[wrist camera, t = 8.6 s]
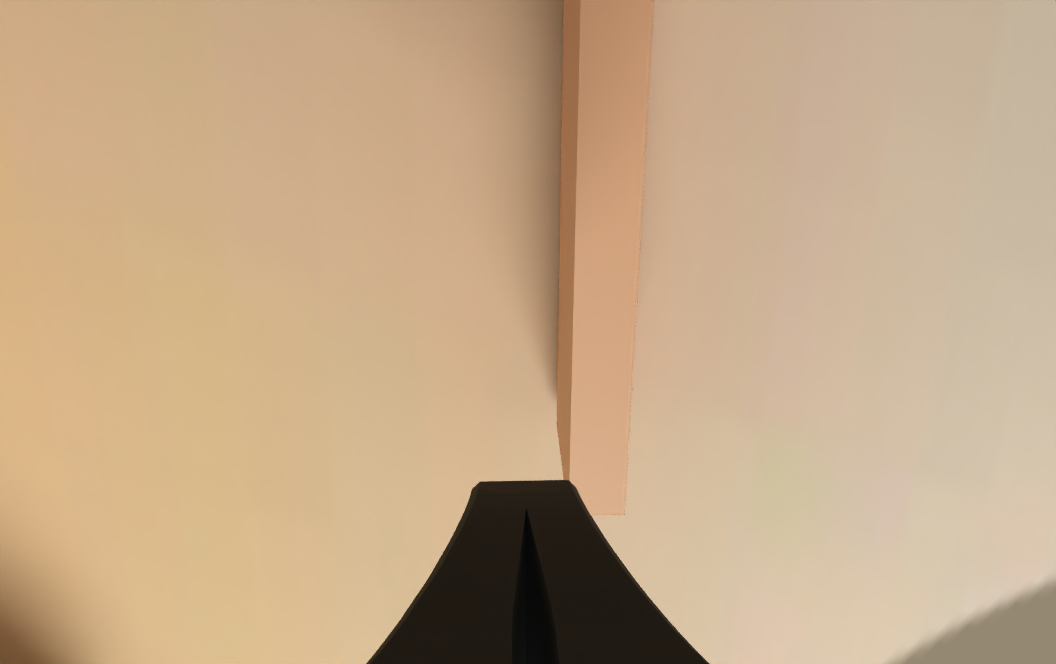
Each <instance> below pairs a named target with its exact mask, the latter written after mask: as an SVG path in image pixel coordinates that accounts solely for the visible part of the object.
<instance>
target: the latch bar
mask: <svg viewBox="0 0 1056 664" xmlns="http://www.w3.org/2000/svg"><path fill="white" fill-rule="evenodd" d="M653 5H654V0H563V62H562V125H561V188H560V251H559V313H558V376H557V431H558V438H559V446H560V454H561V461H562V469H563V477H564V480H569V481H570V482H571V483H572V484H573V485H574V486H575V487H576V488H577V490H578V493H579V495H580V497H581V499H582V501H583V502H584V504H585V506H586V508H587V510H588V511H589V513H590V515H591V516H596V515H625V507H626V489H627V471H628V453H629V435H630V417H631V399H632V381H633V363H634V345H635V327H636V310H637V292H638V274H639V256H640V238H641V220H642V202H643V184H644V166H645V148H646V130H647V113H648V95H649V77H650V59H651V41H652V23H653Z"/></svg>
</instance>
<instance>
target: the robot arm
mask: <svg viewBox="0 0 1056 664" xmlns="http://www.w3.org/2000/svg"><path fill="white" fill-rule="evenodd" d="M366 664H709V663H708V662H707V661H706V660H705V659H704V658H703V657H702V656H701V655H700V654H699V653H698V652H697V651H696V650H695V649H694V648H693V647H692V646H691V645H690V644H689V643H688V641H687V640H686V639H685V638H684V637H683V636H682V635H681V634H680V633H679V632H678V631H677V629H676V628H675V627H674V626H673V625H672V624H671V623H670V622H669V621H668V619H667V618H666V617H665V616H664V615H663V613H662V612H661V611H660V610H659V609H658V608H657V606H656V605H655V604H654V603H653V602H652V600H651V599H650V598H649V597H648V596H647V594H646V593H645V592H644V591H643V589H642V588H641V587H640V585H639V584H638V583H637V582H636V580H635V579H634V578H633V576H632V575H631V574H630V572H629V571H628V570H627V568H626V567H625V565H624V564H623V563H622V561H621V560H620V559H619V557H618V556H617V554H616V553H615V552H614V550H613V549H612V547H611V546H610V545H609V543H608V542H607V540H606V539H605V537H604V536H603V534H602V532H601V531H600V529H599V528H598V526H597V525H596V523H595V521H594V520H593V518H592V516H591V515H590V513H589V511H588V510H587V508H586V506H585V504H584V502H583V501H582V499H581V497H580V495H579V493H578V490H577V488H576V487H575V486H574V485H573V484H572V483H571V482H570V481H569V480H544V481H490V482H479V483H478V484H477V485H476V486H475V487H474V488H473V489H472V492H471V495H470V498H469V501H468V504H467V506H466V509H465V511H464V513H463V516H462V518H461V520H460V522H459V524H458V526H457V528H456V530H455V532H454V534H453V536H452V538H451V540H450V542H449V544H448V545H447V547H446V549H445V551H444V552H443V554H442V556H441V557H440V559H439V561H438V563H437V564H436V566H435V568H434V570H433V571H432V573H431V575H430V576H429V578H428V580H427V581H426V583H425V584H424V586H423V587H422V589H421V590H420V592H419V593H418V595H417V596H416V598H415V599H414V600H413V602H412V603H411V605H410V606H409V608H408V609H407V611H406V612H405V614H404V615H403V617H402V618H401V620H400V621H399V622H398V624H397V625H396V627H395V628H394V629H393V631H392V632H391V633H390V635H389V636H388V637H387V638H386V640H385V641H384V642H383V644H382V645H381V646H380V648H379V649H378V650H377V651H376V653H375V654H374V655H373V656H372V657H371V659H370V660H369V661H368V662H367V663H366Z"/></svg>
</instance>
